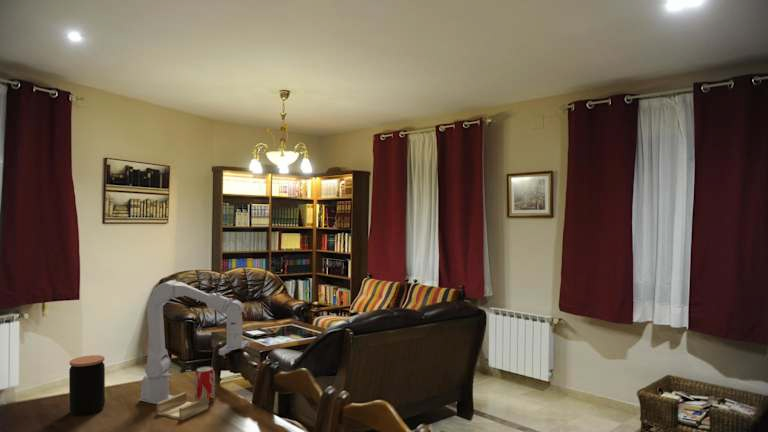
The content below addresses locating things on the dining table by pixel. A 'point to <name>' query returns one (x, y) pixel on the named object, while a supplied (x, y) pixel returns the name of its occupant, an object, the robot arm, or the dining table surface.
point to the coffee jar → (87, 385)
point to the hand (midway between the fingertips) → (234, 369)
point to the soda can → (205, 383)
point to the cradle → (181, 407)
